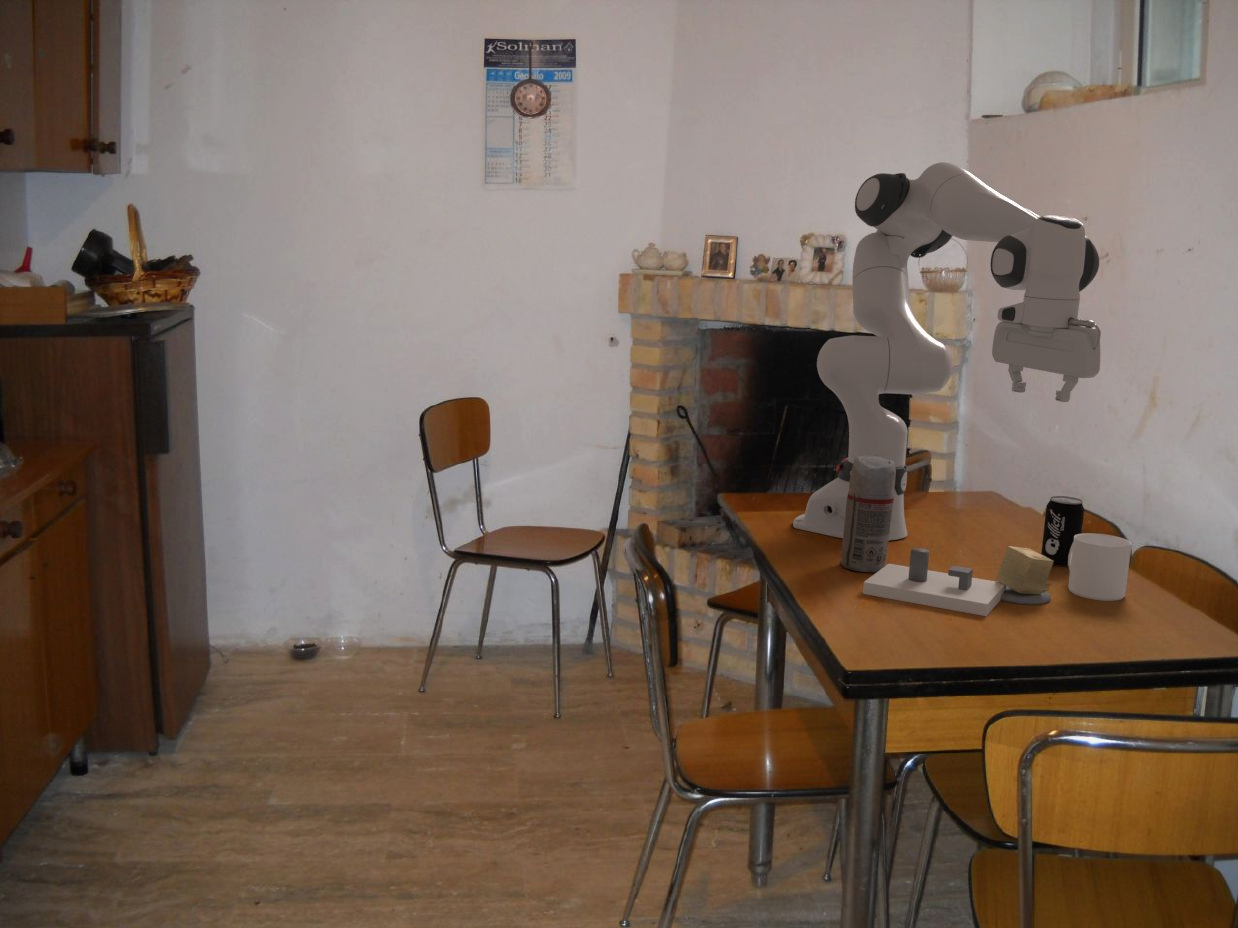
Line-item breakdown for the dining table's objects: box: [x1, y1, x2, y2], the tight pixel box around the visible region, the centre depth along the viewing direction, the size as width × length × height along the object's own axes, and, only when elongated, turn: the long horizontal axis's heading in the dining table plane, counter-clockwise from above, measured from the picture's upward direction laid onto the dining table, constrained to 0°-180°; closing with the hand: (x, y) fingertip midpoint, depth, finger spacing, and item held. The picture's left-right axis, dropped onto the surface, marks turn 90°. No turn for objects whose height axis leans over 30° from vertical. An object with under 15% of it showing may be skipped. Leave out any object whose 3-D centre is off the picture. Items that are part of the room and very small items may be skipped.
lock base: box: [862, 547, 1006, 617], centre depth 199 cm, size 20×14×7 cm
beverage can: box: [1040, 495, 1085, 567], centre depth 222 cm, size 7×7×12 cm
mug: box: [1067, 532, 1133, 602], centre depth 204 cm, size 12×9×9 cm
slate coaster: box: [1000, 586, 1052, 606], centre depth 200 cm, size 10×10×1 cm
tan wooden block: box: [995, 545, 1054, 595], centre depth 200 cm, size 9×5×6 cm, turn 122°
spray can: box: [839, 454, 896, 573], centre depth 212 cm, size 8×8×20 cm
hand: (1039, 396), depth 204 cm, fingers open, 8 cm apart
